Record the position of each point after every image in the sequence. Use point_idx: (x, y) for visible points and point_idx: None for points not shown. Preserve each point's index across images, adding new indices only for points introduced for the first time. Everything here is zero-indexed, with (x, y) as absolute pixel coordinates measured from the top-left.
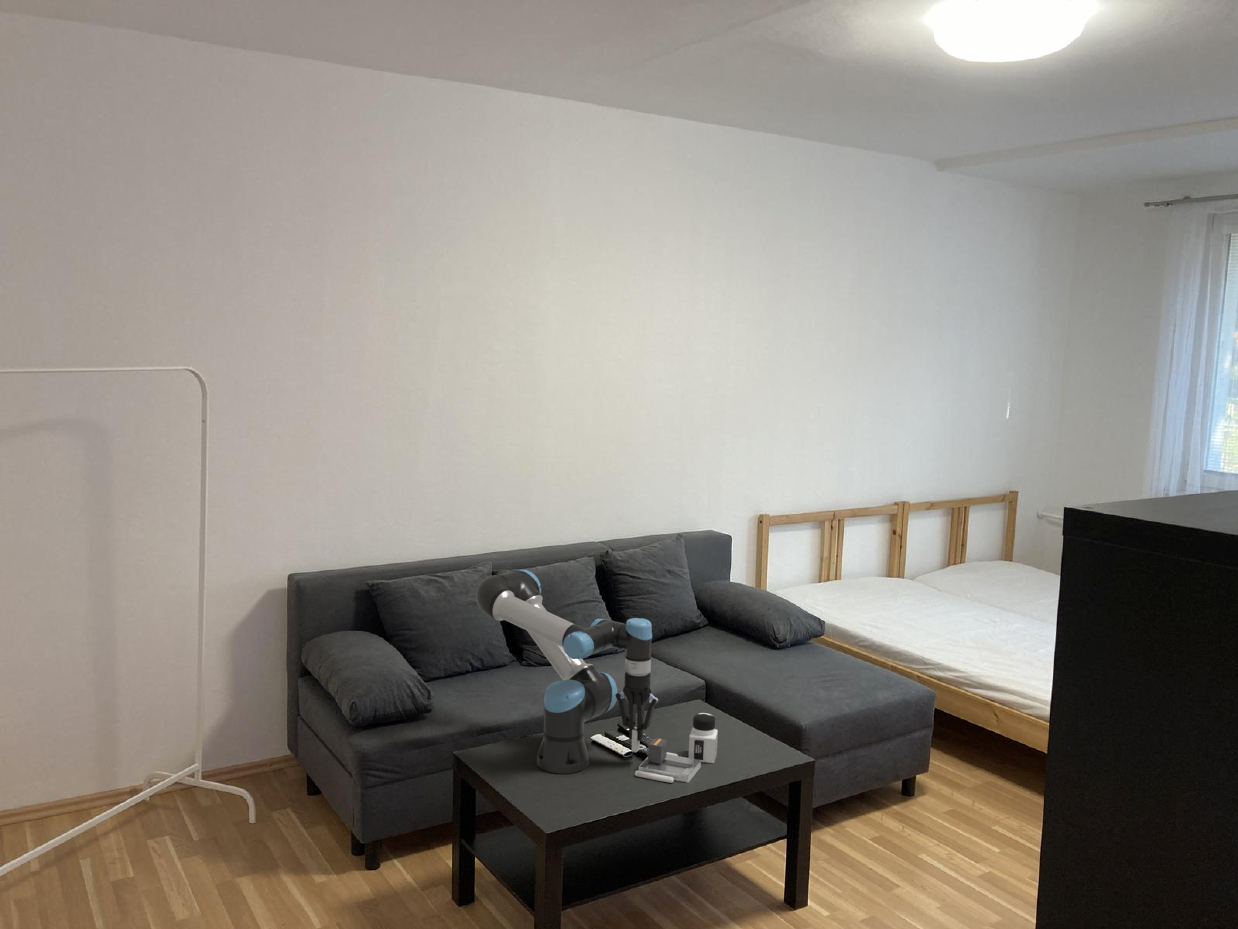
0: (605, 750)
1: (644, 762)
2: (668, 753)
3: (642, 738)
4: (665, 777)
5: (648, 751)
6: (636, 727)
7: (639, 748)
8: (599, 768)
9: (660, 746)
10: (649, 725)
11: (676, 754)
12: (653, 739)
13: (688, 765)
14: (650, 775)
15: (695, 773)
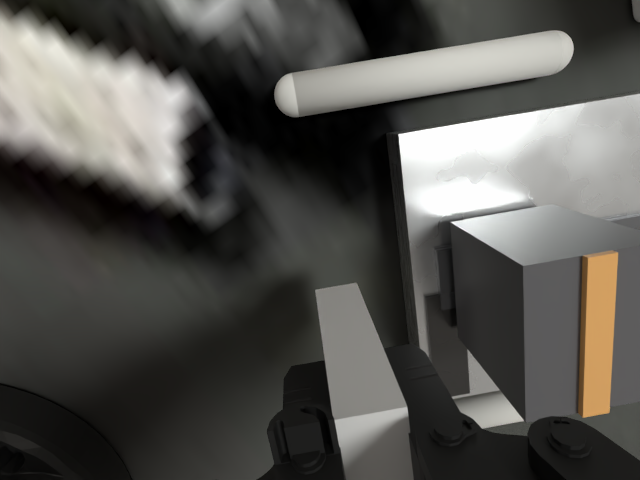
0: (36, 209)
1: (436, 346)
2: (507, 68)
3: (421, 352)
4: None
5: (494, 378)
6: (356, 428)
7: (357, 286)
8: (194, 443)
9: None
10: (600, 434)
11: (570, 49)
12: (529, 297)
13: None
14: (516, 421)
15: None
